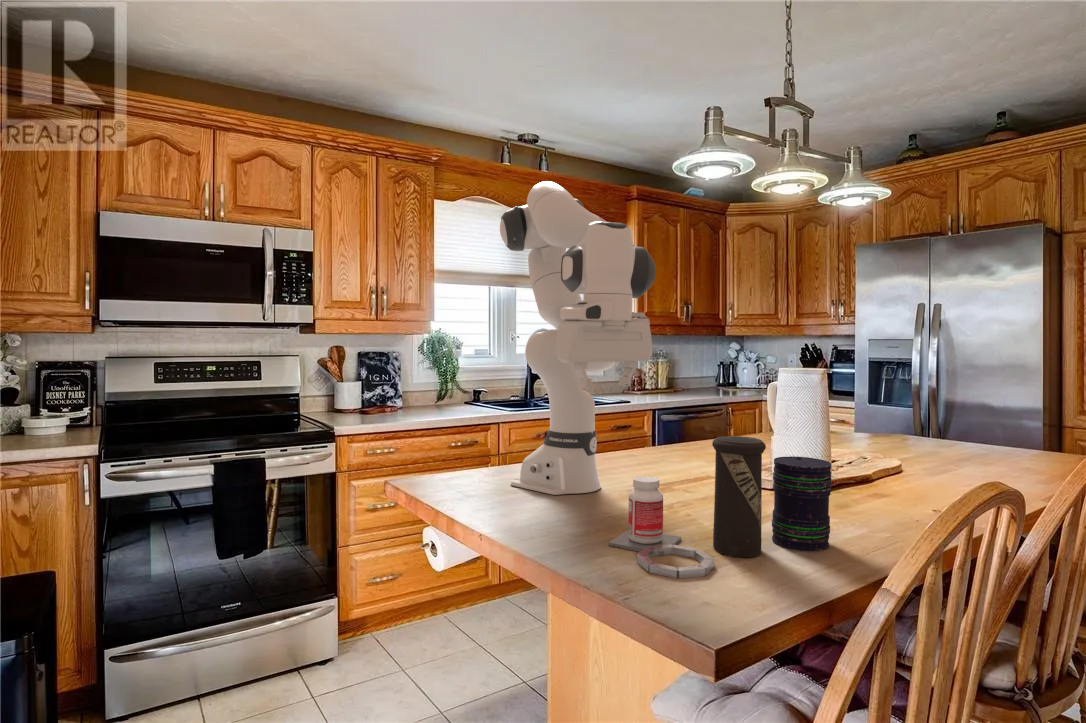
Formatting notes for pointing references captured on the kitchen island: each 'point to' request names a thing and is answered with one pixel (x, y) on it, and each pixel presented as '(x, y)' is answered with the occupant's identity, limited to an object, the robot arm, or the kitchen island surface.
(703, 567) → the collar
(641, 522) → the pill bottle
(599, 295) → the robot arm
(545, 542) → the kitchen island surface
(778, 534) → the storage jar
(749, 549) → the container
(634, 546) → the coaster
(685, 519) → the kitchen island surface
